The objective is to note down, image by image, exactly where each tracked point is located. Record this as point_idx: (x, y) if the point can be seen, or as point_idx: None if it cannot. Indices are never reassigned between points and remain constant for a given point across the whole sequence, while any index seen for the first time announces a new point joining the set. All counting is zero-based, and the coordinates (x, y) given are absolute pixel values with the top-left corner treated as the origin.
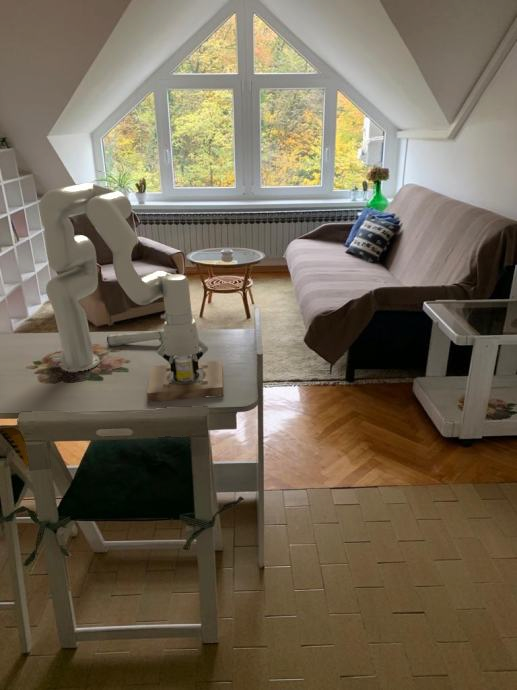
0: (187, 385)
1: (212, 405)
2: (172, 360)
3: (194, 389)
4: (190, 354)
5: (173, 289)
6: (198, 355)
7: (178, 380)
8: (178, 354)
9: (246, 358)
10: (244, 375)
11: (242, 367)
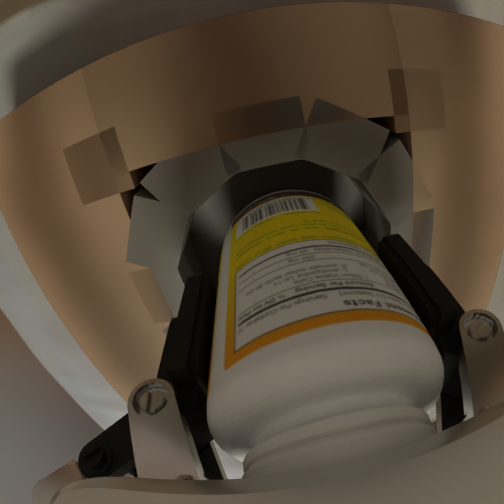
0: (231, 99)
1: (46, 10)
2: (471, 347)
3: (143, 41)
4: (166, 492)
5: None
6: (125, 452)
7: (343, 211)
8: (451, 463)
9: (106, 422)
10: (35, 330)
11: (80, 382)
